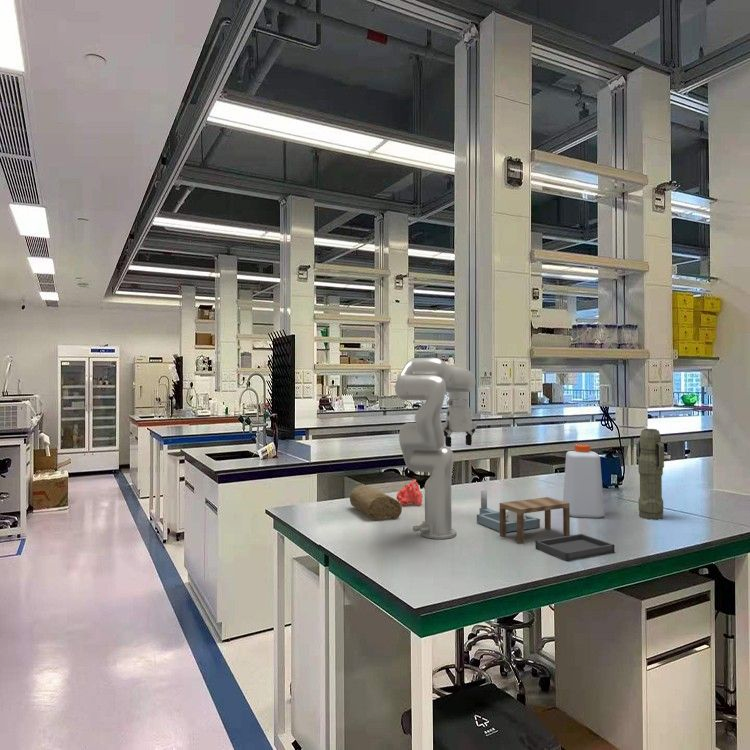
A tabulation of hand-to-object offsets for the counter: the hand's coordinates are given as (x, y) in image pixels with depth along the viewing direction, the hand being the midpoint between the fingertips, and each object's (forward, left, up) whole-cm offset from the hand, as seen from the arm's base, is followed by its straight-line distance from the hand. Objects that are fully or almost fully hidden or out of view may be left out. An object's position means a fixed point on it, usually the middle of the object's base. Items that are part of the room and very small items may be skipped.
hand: (458, 445), depth 228 cm
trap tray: (+8, -55, -28) cm, 62 cm away
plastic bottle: (+47, -20, -28) cm, 58 cm away
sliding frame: (+8, -17, -28) cm, 34 cm away
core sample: (-30, +18, -29) cm, 45 cm away
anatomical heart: (-9, +25, -29) cm, 39 cm away
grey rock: (+8, -25, -28) cm, 38 cm away
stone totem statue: (+67, -36, -28) cm, 81 cm away
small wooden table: (+8, -36, -28) cm, 46 cm away
